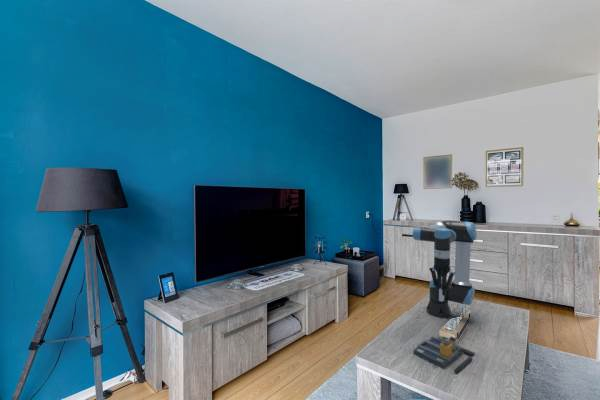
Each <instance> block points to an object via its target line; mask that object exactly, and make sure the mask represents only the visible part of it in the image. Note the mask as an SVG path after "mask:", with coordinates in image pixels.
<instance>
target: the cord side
mask: <svg viewBox="0 0 600 400" xmlns="http://www.w3.org/2000/svg"><path fill="white" fill-rule="evenodd" d="M472 360H473V357H472V356H468V358H466V359H465V360H463V361H462V362H461V363H460V364H459V365H458V366H457V367H455V368H454V370H453V371H454V373H455V374H458V373H459V372H460V371H462V369H464V368H465V367H466V366H467V365H468V364H469V363H470V362H471V361H472Z"/></svg>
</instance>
